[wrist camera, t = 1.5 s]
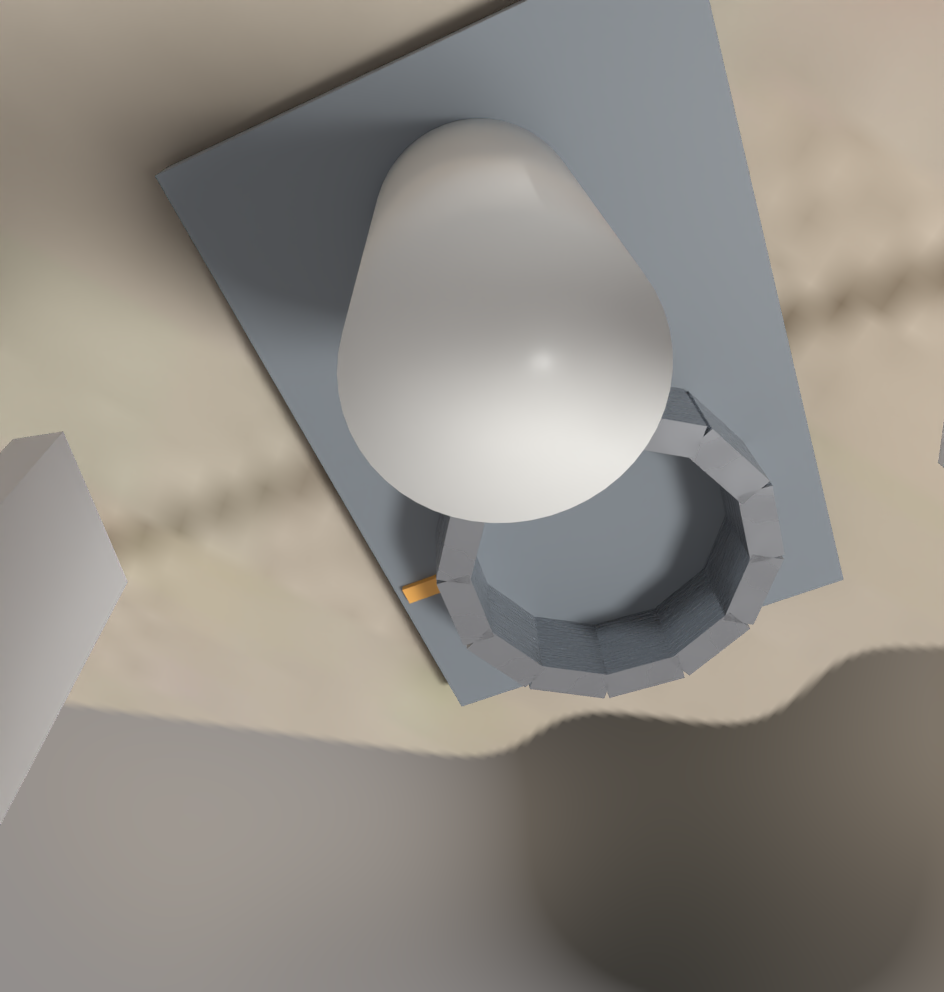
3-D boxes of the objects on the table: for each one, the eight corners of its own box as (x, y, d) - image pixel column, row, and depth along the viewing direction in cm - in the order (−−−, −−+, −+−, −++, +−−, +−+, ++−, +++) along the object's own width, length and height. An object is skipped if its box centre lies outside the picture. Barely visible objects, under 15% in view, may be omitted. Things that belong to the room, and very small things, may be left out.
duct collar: (475, 351, 24) (479, 387, 22) (802, 410, 26) (835, 448, 24) (415, 623, 29) (414, 674, 27) (692, 661, 31) (712, 711, 29)
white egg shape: (391, 96, 21) (362, 175, 12) (607, 143, 22) (720, 249, 13) (359, 319, 24) (317, 509, 15) (551, 354, 25) (614, 554, 16)
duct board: (167, 167, 23) (152, 177, 22) (678, -74, 20) (693, -78, 19) (460, 683, 32) (461, 710, 31) (829, 559, 30) (846, 583, 29)
